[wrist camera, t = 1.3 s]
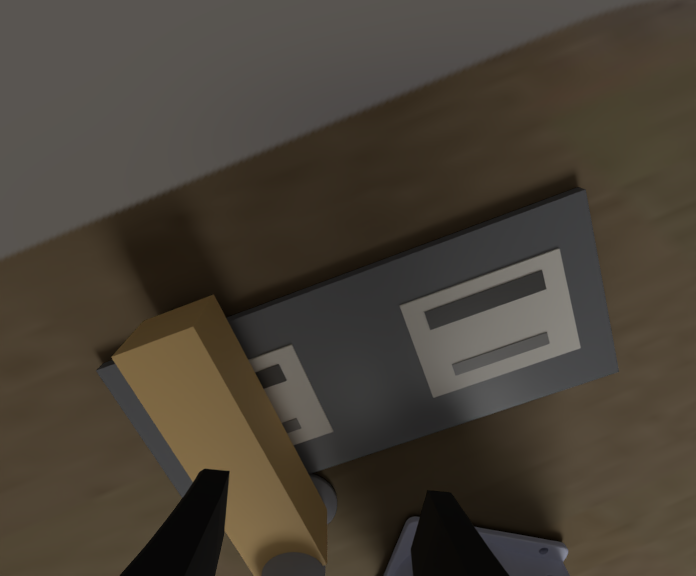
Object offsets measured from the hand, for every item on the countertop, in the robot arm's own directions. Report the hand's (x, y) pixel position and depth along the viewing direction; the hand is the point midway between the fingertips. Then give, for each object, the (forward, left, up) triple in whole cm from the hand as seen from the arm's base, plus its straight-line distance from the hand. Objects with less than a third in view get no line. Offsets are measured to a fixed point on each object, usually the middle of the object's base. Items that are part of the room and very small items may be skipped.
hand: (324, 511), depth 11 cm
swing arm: (+2, +6, -9) cm, 11 cm away
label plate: (-3, +2, -10) cm, 10 cm away
